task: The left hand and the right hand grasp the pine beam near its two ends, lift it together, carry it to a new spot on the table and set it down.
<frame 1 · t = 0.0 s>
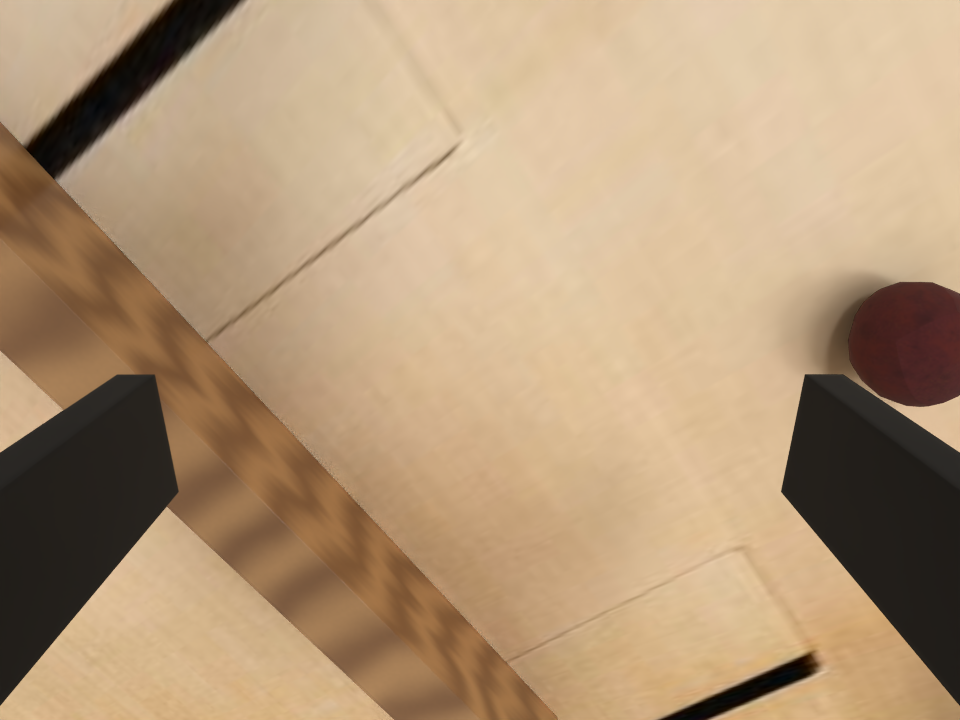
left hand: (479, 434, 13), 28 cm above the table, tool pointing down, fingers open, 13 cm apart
beam: (235, 418, 43), on the table
maroon ball: (879, 324, 41), on the table
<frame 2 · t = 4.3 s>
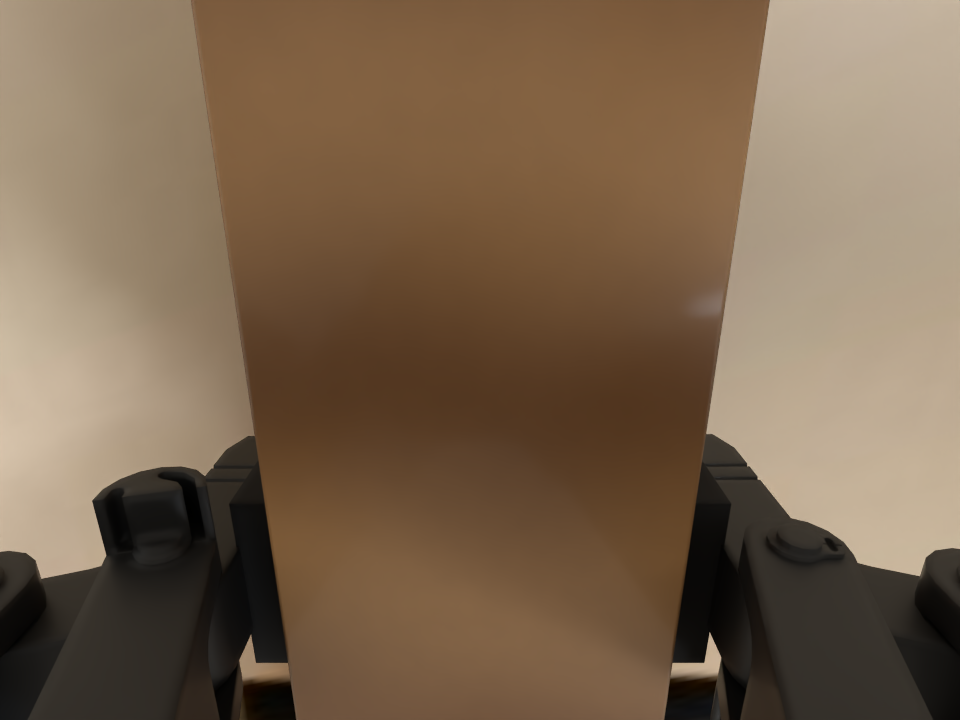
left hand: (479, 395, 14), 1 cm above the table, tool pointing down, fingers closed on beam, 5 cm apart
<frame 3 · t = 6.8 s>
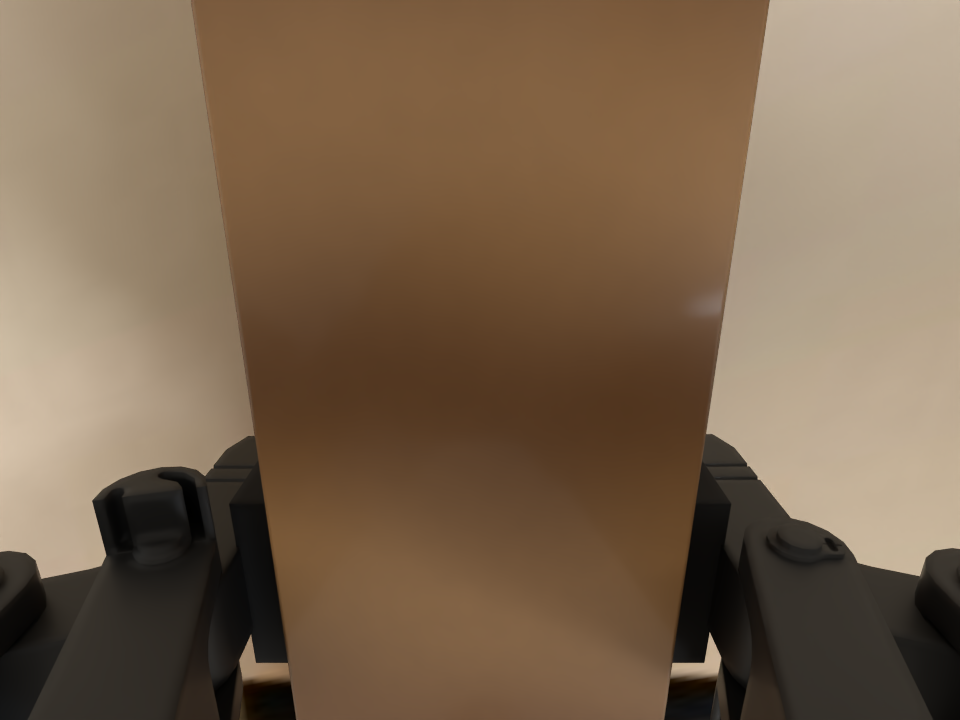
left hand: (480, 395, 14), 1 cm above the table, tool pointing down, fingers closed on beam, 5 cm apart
when the left hand's fingers open (2 cm above the table, at t = 11.1 s): beam drops 1 cm, on the table.
when the right hand's fingers open (4 cm above the table, at t = 11.3 s): beam stays where it is, on the table.
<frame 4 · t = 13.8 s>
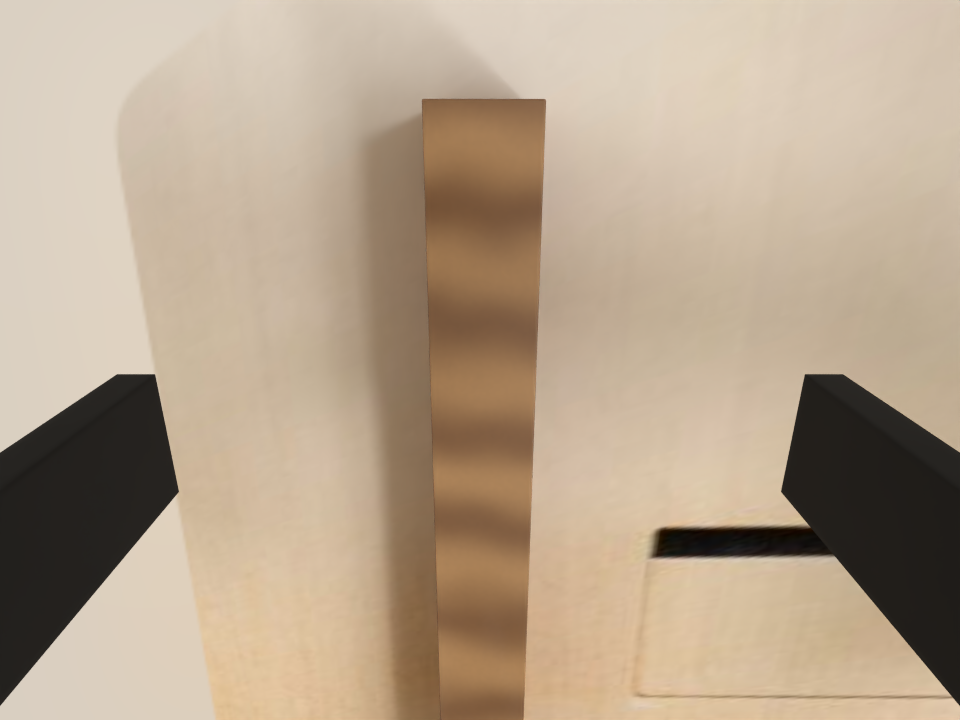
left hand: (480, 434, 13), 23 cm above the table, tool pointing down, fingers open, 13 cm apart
beam: (481, 661, 45), on the table
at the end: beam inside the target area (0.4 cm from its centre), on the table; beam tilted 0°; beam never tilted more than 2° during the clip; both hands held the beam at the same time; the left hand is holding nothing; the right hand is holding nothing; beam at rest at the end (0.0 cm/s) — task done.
